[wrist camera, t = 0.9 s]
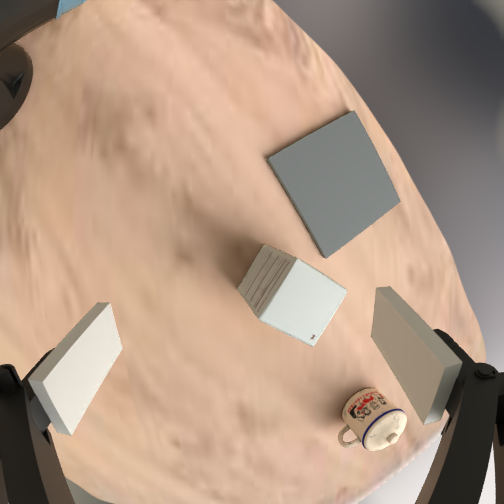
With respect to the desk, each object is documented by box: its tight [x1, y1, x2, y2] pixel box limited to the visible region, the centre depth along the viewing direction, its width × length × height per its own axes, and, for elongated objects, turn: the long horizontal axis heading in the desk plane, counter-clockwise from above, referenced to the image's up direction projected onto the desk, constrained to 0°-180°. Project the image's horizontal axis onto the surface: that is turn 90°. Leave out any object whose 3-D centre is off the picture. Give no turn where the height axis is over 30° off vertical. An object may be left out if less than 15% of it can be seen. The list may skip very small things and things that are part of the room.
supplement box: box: [237, 244, 347, 347], centre depth 37 cm, size 7×7×13 cm
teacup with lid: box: [338, 388, 406, 451], centre depth 45 cm, size 12×9×12 cm
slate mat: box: [266, 111, 400, 258], centre depth 43 cm, size 16×16×1 cm
